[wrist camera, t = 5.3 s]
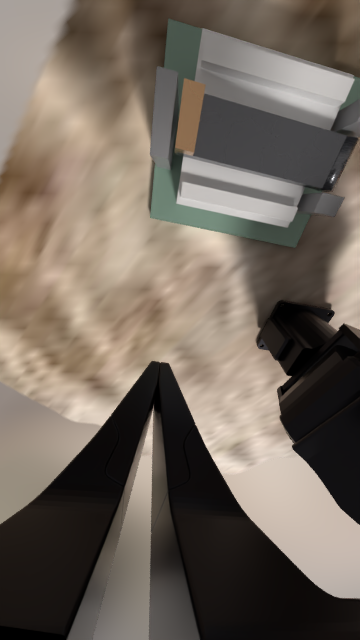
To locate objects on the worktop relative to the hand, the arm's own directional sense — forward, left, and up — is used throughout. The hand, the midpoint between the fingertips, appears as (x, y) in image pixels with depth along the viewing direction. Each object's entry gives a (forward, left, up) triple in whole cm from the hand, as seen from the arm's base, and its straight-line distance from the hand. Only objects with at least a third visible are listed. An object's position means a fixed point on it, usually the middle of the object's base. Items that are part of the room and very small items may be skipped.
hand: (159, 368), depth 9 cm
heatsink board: (-4, -11, -12) cm, 16 cm away
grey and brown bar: (-4, -11, -8) cm, 14 cm away
